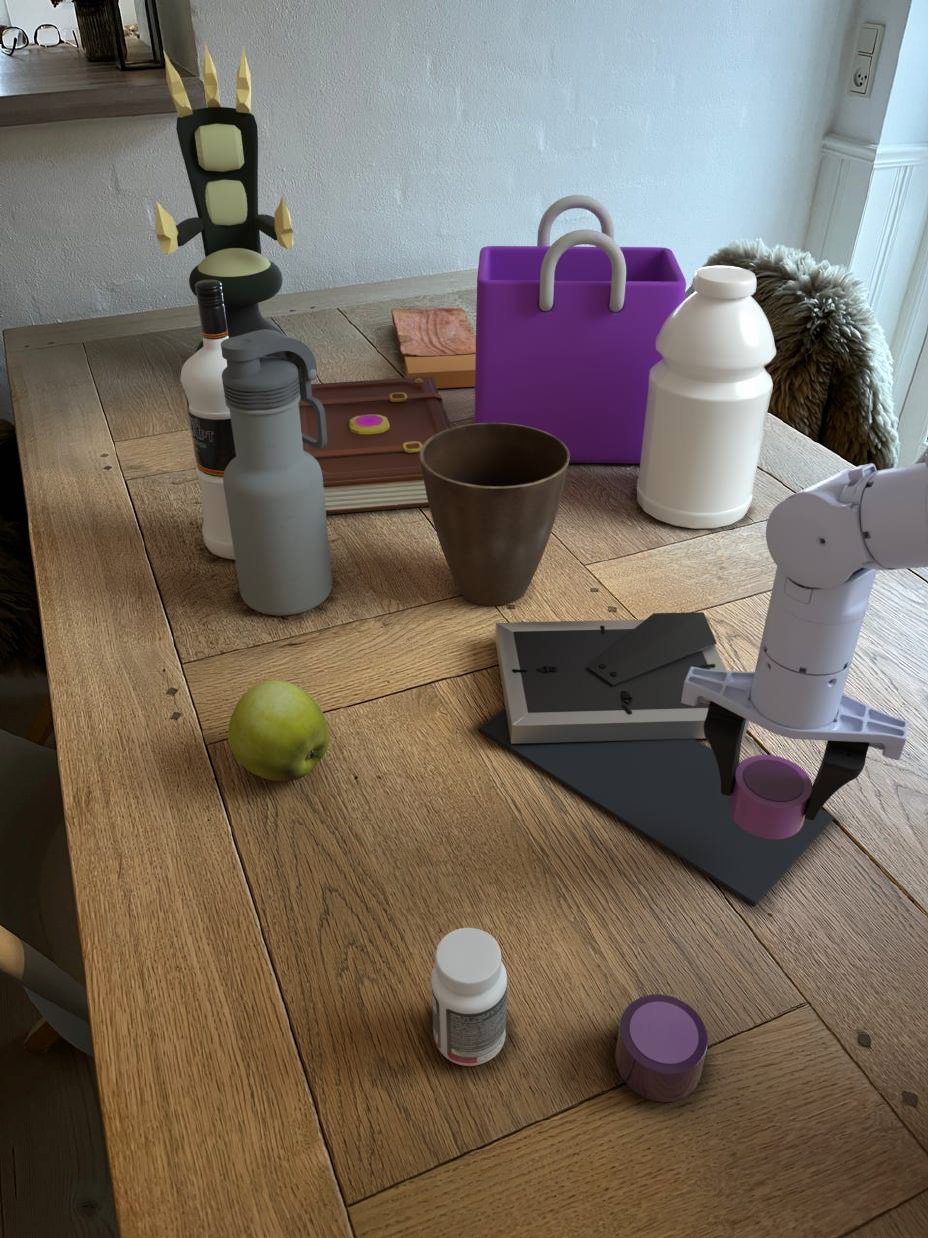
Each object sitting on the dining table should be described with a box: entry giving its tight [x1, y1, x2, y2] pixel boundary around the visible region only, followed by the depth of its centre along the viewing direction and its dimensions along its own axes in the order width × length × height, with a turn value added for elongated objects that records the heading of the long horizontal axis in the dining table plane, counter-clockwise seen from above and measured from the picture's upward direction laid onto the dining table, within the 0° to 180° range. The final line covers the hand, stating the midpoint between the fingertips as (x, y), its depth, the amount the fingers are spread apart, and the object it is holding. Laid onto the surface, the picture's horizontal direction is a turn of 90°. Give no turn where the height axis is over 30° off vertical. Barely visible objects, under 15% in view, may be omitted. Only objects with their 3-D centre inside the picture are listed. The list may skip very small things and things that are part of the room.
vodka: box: [179, 280, 236, 561], centre depth 108 cm, size 9×9×30 cm
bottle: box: [636, 265, 777, 529], centre depth 116 cm, size 14×14×28 cm
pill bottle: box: [430, 927, 508, 1067], centre depth 63 cm, size 5×5×8 cm
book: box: [298, 376, 452, 515], centre depth 134 cm, size 23×32×5 cm
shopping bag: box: [473, 194, 687, 465], centre depth 131 cm, size 28×22×30 cm
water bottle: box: [221, 329, 333, 617], centre depth 100 cm, size 10×10×28 cm
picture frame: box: [494, 611, 750, 744], centre depth 93 cm, size 16×3×21 cm
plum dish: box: [728, 754, 813, 839], centre depth 73 cm, size 5×5×3 cm
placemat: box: [478, 708, 835, 907], centre depth 85 cm, size 28×12×1 cm, turn 46°
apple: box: [227, 679, 331, 782], centre depth 84 cm, size 8×9×8 cm
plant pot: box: [420, 423, 570, 607], centre depth 104 cm, size 15×15×16 cm
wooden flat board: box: [390, 307, 476, 389], centre depth 165 cm, size 13×30×3 cm, turn 8°
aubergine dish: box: [614, 993, 709, 1103], centre depth 63 cm, size 5×5×3 cm
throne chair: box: [155, 40, 294, 360], centre depth 149 cm, size 19×22×45 cm
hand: (769, 798), depth 73 cm, fingers closed on plum dish, 5 cm apart
